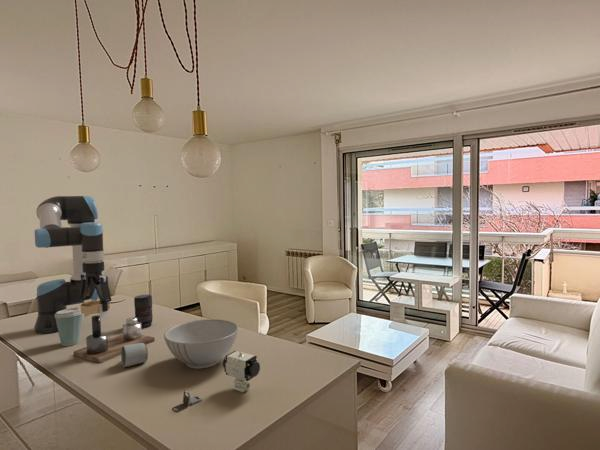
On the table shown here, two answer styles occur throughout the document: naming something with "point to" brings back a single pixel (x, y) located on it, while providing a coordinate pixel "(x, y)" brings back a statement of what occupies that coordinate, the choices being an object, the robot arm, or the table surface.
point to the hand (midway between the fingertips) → (95, 317)
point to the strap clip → (187, 401)
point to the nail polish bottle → (96, 338)
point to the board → (112, 348)
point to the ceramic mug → (134, 354)
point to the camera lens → (143, 310)
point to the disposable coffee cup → (69, 325)
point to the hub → (132, 329)
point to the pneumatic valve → (241, 369)
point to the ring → (91, 307)
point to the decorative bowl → (201, 341)
